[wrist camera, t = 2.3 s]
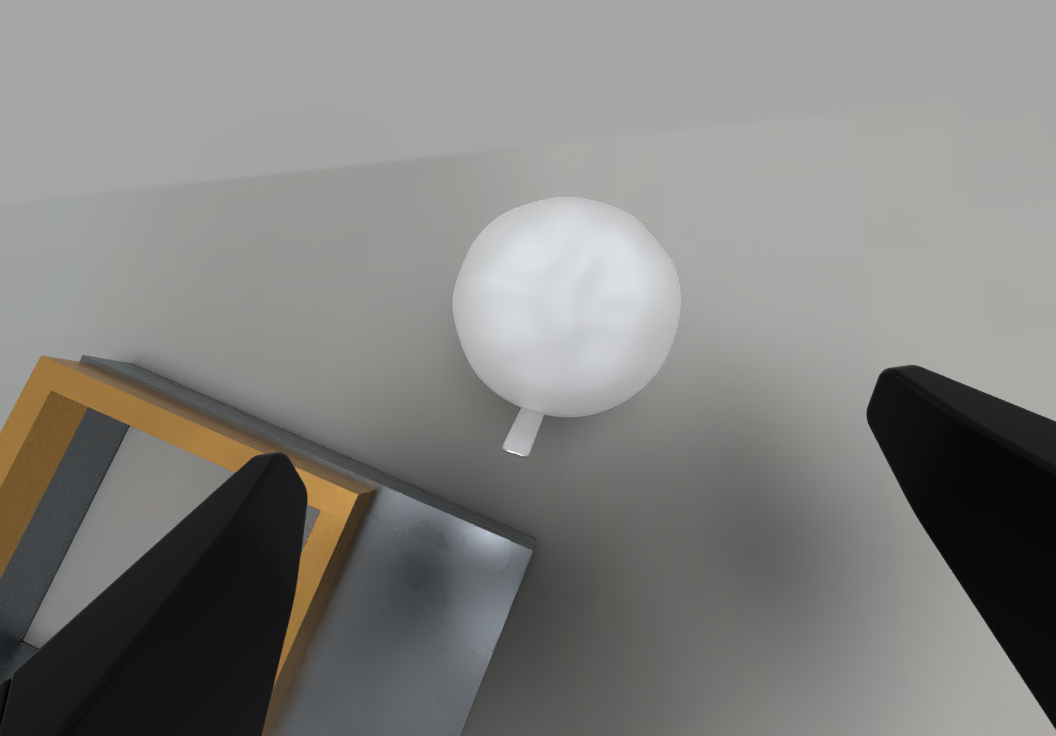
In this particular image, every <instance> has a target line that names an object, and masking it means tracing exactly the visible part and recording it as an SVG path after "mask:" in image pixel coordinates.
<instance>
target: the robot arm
mask: <svg viewBox="0 0 1056 736" xmlns="http://www.w3.org/2000/svg"><path fill="white" fill-rule="evenodd" d="M867 421H868V424H869V426H870V428H871V430H872V432H873V434H874V436H875V438H876V440H877V442H878V444H879V446H880V448H881V450H882V452H883V454H884V456H885V458H886V460H887V462H888V464H889V466H890V467H891V469H892V471H893V473H894V475H895V477H896V479H897V481H898V483H899V485H900V487H901V489H902V491H903V493H904V495H905V497H906V499H907V500H908V502H909V504H910V506H911V508H912V509H913V511H914V513H915V515H916V516H917V518H918V520H919V521H920V523H921V524H922V526H923V528H924V529H925V531H926V532H927V534H928V535H929V537H930V538H931V540H932V541H933V543H934V545H935V546H936V548H937V549H938V551H939V552H940V554H941V555H942V557H943V558H944V560H945V561H946V563H947V564H948V566H949V567H950V569H951V571H952V572H953V574H954V575H955V577H956V578H957V580H958V581H959V583H960V584H961V586H962V587H963V589H964V590H965V592H966V593H967V595H968V596H969V598H970V600H971V601H972V603H973V604H974V606H975V607H976V609H977V610H978V612H979V613H980V615H981V616H982V618H983V619H984V621H985V622H986V624H987V625H988V627H989V629H990V630H991V632H992V633H993V635H994V636H995V638H996V639H997V641H998V642H999V644H1000V645H1001V647H1002V648H1003V650H1004V651H1005V653H1006V655H1007V656H1008V658H1009V659H1010V661H1011V662H1012V664H1013V665H1014V667H1015V668H1016V670H1017V671H1018V673H1019V674H1020V676H1021V677H1022V679H1023V680H1024V682H1025V684H1026V685H1027V687H1028V688H1029V690H1030V691H1031V693H1032V694H1033V696H1034V697H1035V699H1036V700H1037V702H1038V703H1039V705H1040V706H1041V708H1042V710H1043V711H1044V713H1045V714H1046V716H1047V717H1048V719H1049V720H1050V722H1051V723H1052V725H1053V726H1054V728H1055V729H1056V421H1053V420H1051V419H1048V418H1046V417H1044V416H1041V415H1039V414H1036V413H1034V412H1031V411H1029V410H1026V409H1024V408H1021V407H1019V406H1016V405H1014V404H1011V403H1009V402H1006V401H1004V400H1001V399H999V398H997V397H994V396H992V395H989V394H987V393H984V392H982V391H979V390H977V389H974V388H972V387H969V386H967V385H964V384H962V383H959V382H957V381H954V380H952V379H950V378H947V377H945V376H942V375H940V374H937V373H935V372H932V371H930V370H927V369H925V368H922V367H920V366H916V365H906V366H899V367H892V368H887V369H885V370H884V371H882V372H881V373H880V375H879V377H878V380H877V383H876V385H875V388H874V391H873V393H872V396H871V399H870V402H869V404H868V407H867ZM307 501H308V495H307V490H306V487H305V484H304V483H303V481H302V479H301V477H300V476H299V474H298V472H297V471H296V469H295V467H294V466H293V464H292V462H291V460H290V459H289V457H288V456H287V455H286V454H285V453H283V452H273V453H266V454H259V455H256V456H254V457H253V458H251V459H250V460H249V461H248V462H247V463H246V464H244V465H243V466H242V467H241V468H240V469H239V470H238V471H237V472H236V473H234V474H233V475H232V476H231V477H230V478H229V479H228V480H227V481H226V482H224V483H223V484H222V485H221V486H220V487H219V488H218V489H217V490H216V491H214V492H213V493H212V494H211V495H210V496H209V497H208V498H207V499H206V500H204V501H203V502H202V503H201V504H200V505H199V506H198V507H197V508H196V509H194V510H193V511H192V512H191V513H190V514H189V515H188V516H187V517H186V518H184V519H183V520H182V521H181V522H180V523H179V524H178V525H177V526H176V527H174V528H173V529H172V530H171V531H170V532H169V533H168V534H167V535H166V536H164V537H163V538H162V539H161V540H160V541H159V542H158V543H157V544H156V545H154V546H153V547H152V548H151V549H150V550H149V551H148V552H147V553H146V554H144V555H143V556H142V557H141V558H140V559H139V560H138V561H137V562H136V563H134V564H133V565H132V566H131V567H130V568H129V569H128V570H127V571H126V572H124V573H123V574H122V575H121V576H120V577H119V578H118V579H117V580H116V581H114V582H113V583H112V584H111V585H110V586H109V587H108V588H107V589H106V590H104V591H103V592H102V593H101V594H100V595H99V596H98V597H97V598H96V599H94V600H93V601H92V602H91V603H90V604H89V605H88V606H87V607H86V608H84V609H83V610H82V611H81V612H80V613H79V614H78V615H77V616H75V617H74V618H73V619H72V620H71V621H70V622H69V623H68V624H67V625H65V626H64V627H63V628H62V629H61V630H60V631H59V632H58V633H57V634H55V635H54V636H53V637H52V638H51V639H50V640H49V641H48V642H47V643H45V644H44V645H43V646H42V647H41V648H40V649H39V650H38V651H37V652H35V653H34V654H33V655H32V656H31V657H30V658H29V659H28V660H27V661H25V662H24V663H23V664H22V665H21V666H20V667H19V668H18V669H17V670H15V672H14V673H13V675H12V678H8V679H6V680H4V681H3V682H2V683H1V684H0V736H262V732H263V728H264V724H265V720H266V716H267V711H268V707H269V703H270V699H271V695H272V691H273V686H274V682H275V678H276V674H277V670H278V666H279V662H280V657H281V653H282V649H283V645H284V641H285V637H286V633H287V628H288V624H289V620H290V616H291V612H292V607H293V603H294V598H295V593H296V587H297V580H298V573H299V565H300V557H301V549H302V541H303V533H304V525H305V518H306V510H307Z"/></svg>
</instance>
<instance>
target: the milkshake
mask: <svg viewBox="0 0 1056 736" xmlns="http://www.w3.org/2000/svg"><path fill="white" fill-rule="evenodd" d="M680 312H681V292H680V285H679V280H678V276H677V272H676V269H675V267H674V265H673V263H672V261H671V259H670V257H669V256H668V254H667V253H666V252H665V250H664V249H663V248H662V247H661V245H660V244H659V243H658V242H657V241H656V240H655V238H654V237H653V236H652V235H651V234H650V233H649V232H648V230H647V229H646V228H645V227H644V226H643V225H642V224H641V223H640V222H639V221H638V220H637V219H636V218H634V217H633V216H632V215H630V214H629V213H627V212H625V211H623V210H621V209H618V208H616V207H613V206H610V205H607V204H604V203H601V202H597V201H594V200H589V199H584V198H577V197H555V198H549V199H544V200H539V201H536V202H532V203H529V204H525V205H522V206H519V207H517V208H514V209H512V210H510V211H507V212H506V213H504V214H502V215H500V216H499V217H497V218H496V219H495V220H493V221H492V222H491V223H490V224H489V225H487V226H486V227H485V228H484V230H483V231H482V232H481V233H480V234H479V235H478V237H477V238H476V239H475V241H474V242H473V244H472V246H471V247H470V249H469V251H468V253H467V255H466V257H465V260H464V262H463V264H462V267H461V270H460V272H459V275H458V278H457V281H456V284H455V288H454V293H453V316H454V322H455V326H456V330H457V333H458V336H459V340H460V342H461V345H462V348H463V351H464V353H465V355H466V357H467V360H468V361H469V363H470V365H471V367H472V368H473V370H474V371H475V373H476V374H477V376H478V377H479V378H480V379H481V380H482V381H483V382H484V383H485V384H486V385H487V386H488V387H489V388H490V389H491V390H492V391H494V392H495V393H496V394H498V395H499V396H500V397H502V398H504V399H505V400H507V401H509V402H510V403H512V404H514V405H516V406H519V407H521V409H520V411H519V413H518V415H517V417H516V419H515V421H514V423H513V425H512V427H511V429H510V431H509V433H508V435H507V437H506V439H505V441H504V443H503V445H502V450H503V451H504V452H507V453H510V454H513V455H516V456H520V457H523V458H527V457H529V455H530V453H531V450H532V447H533V445H534V442H535V439H536V436H537V434H538V431H539V428H540V425H541V423H542V420H543V417H544V415H548V416H555V417H583V416H589V415H593V414H597V413H601V412H604V411H606V410H609V409H611V408H613V407H616V406H618V405H619V404H621V403H623V402H625V401H626V400H628V399H629V398H631V397H632V396H634V395H635V394H636V393H638V392H639V391H640V390H641V389H643V388H644V387H645V386H646V385H647V384H648V383H649V382H650V381H651V380H652V379H653V378H654V376H655V375H656V374H657V373H658V371H659V370H660V369H661V367H662V365H663V364H664V362H665V360H666V358H667V356H668V354H669V351H670V349H671V347H672V344H673V341H674V338H675V335H676V332H677V329H678V325H679V320H680Z"/></svg>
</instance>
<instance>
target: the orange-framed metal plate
mask: <svg viewBox="0 0 1056 736" xmlns="http://www.w3.org/2000/svg"><path fill="white" fill-rule="evenodd" d="M129 425H130V426H132V427H135V428H137V429H139V430H141V431H144V432H146V433H148V434H150V435H153V436H155V437H157V438H159V439H162V440H164V441H166V442H168V443H171V444H173V445H175V446H177V447H180V448H182V449H184V450H186V451H189V452H191V453H193V454H195V455H198V456H200V457H202V458H204V459H206V460H209V461H211V462H213V463H215V464H218V465H220V466H222V467H224V468H227V469H229V470H231V471H233V472H237V471H238V470H239V469H240V468H241V467H242V466H243V465H244V464H246V463H247V462H248V461H249V460H250V459H251V458H253V457H254V456H256V455H259V454H266V453H273V452H283V453H285V454H286V455H287V456H288V457H289V459H290V460H291V462H292V464H293V466H294V467H295V469H296V471H297V472H298V474H299V476H300V477H301V479H302V481H303V483H304V484H305V487H306V490H307V495H308V501H307V504H308V505H310V506H312V507H314V508H317V509H319V510H321V511H320V513H319V516H318V518H317V520H316V522H315V525H314V527H313V529H312V531H311V534H310V536H309V538H308V540H307V543H306V545H305V547H304V549H303V551H302V554H301V557H300V565H299V573H298V580H297V587H296V593H295V598H294V603H293V607H292V612H291V616H290V620H289V624H288V628H287V633H286V637H285V641H284V645H283V649H282V653H281V657H280V662H279V666H278V670H277V674H276V678H275V682H274V686H273V691H272V695H271V699H270V703H269V707H268V711H267V716H266V720H265V724H264V728H263V732H262V736H460V735H461V732H462V730H463V727H464V725H465V722H466V720H467V717H468V715H469V712H470V710H471V707H472V704H473V702H474V699H475V697H476V694H477V692H478V689H479V687H480V684H481V682H482V679H483V677H484V674H485V672H486V669H487V667H488V664H489V662H490V659H491V656H492V654H493V651H494V649H495V646H496V644H497V641H498V639H499V636H500V634H501V631H502V629H503V626H504V624H505V621H506V619H507V616H508V614H509V611H510V608H511V606H512V603H513V601H514V598H515V596H516V593H517V591H518V588H519V586H520V583H521V581H522V578H523V576H524V573H525V571H526V568H527V565H528V563H529V560H530V558H531V555H532V553H533V549H534V542H535V538H533V537H531V536H528V535H526V534H524V533H521V532H519V531H517V530H514V529H512V528H510V527H508V526H505V525H503V524H501V523H498V522H496V521H494V520H491V519H489V518H487V517H484V516H482V515H480V514H478V513H475V512H473V511H471V510H468V509H466V508H464V507H461V506H459V505H457V504H454V503H452V502H450V501H447V500H445V499H443V498H441V497H438V496H436V495H434V494H431V493H429V492H427V491H424V490H422V489H420V488H417V487H415V486H413V485H410V484H408V483H406V482H404V481H401V480H399V479H397V478H394V477H392V476H390V475H387V474H385V473H383V472H380V471H378V470H376V469H374V468H371V467H369V466H367V465H364V464H362V463H360V462H357V461H355V460H353V459H350V458H348V457H346V456H343V455H341V454H339V453H337V452H334V451H332V450H330V449H327V448H325V447H323V446H320V445H318V444H316V443H313V442H311V441H309V440H306V439H304V438H302V437H300V436H297V435H295V434H293V433H290V432H288V431H286V430H283V429H281V428H279V427H276V426H274V425H272V424H270V423H267V422H265V421H263V420H260V419H258V418H256V417H253V416H251V415H249V414H246V413H244V412H242V411H239V410H237V409H235V408H233V407H230V406H228V405H226V404H223V403H221V402H219V401H216V400H214V399H212V398H209V397H207V396H205V395H202V394H200V393H198V392H196V391H193V390H191V389H189V388H186V387H184V386H182V385H179V384H177V383H175V382H172V381H170V380H168V379H166V378H163V377H161V376H159V375H156V374H154V373H152V372H149V371H147V370H145V369H142V368H140V367H138V366H135V365H133V364H130V363H125V362H119V361H114V360H108V359H103V358H97V357H92V356H86V355H83V356H82V358H81V360H80V362H77V361H71V360H65V359H59V358H53V357H47V356H41V357H40V359H39V361H38V362H37V364H36V366H35V368H34V370H33V372H32V374H31V376H30V378H29V380H28V381H27V383H26V385H25V387H24V389H23V391H22V393H21V395H20V397H19V399H18V400H17V402H16V404H15V406H14V408H13V410H12V412H11V414H10V416H9V418H8V419H7V421H6V423H5V425H4V427H3V429H2V431H1V433H0V684H1V683H2V682H3V681H4V680H6V679H8V678H12V675H13V673H14V672H15V670H17V669H18V668H19V667H20V666H21V665H22V664H23V663H24V662H25V661H27V660H28V659H29V658H30V657H31V656H32V655H33V654H34V653H35V652H37V651H38V649H36V648H34V647H32V646H30V645H28V644H26V643H24V642H22V639H23V637H24V635H25V633H26V631H27V629H28V627H29V625H30V623H31V621H32V619H33V617H34V615H35V613H36V611H37V609H38V607H39V605H40V603H41V601H42V599H43V597H44V595H45V593H46V591H47V589H48V587H49V585H50V583H51V581H52V579H53V577H54V575H55V573H56V571H57V569H58V567H59V565H60V563H61V561H62V559H63V557H64V555H65V553H66V551H67V549H68V547H69V545H70V543H71V541H72V539H73V537H74V535H75V533H76V531H77V529H78V527H79V525H80V523H81V521H82V519H83V517H84V515H85V513H86V511H87V509H88V507H89V505H90V503H91V501H92V499H93V497H94V495H95V493H96V491H97V489H98V487H99V485H100V483H101V481H102V479H103V477H104V475H105V473H106V471H107V469H108V467H109V465H110V463H111V461H112V458H113V456H114V454H115V452H116V450H117V448H118V446H119V444H120V442H121V440H122V438H123V436H124V434H125V432H126V430H127V428H128V426H129Z"/></svg>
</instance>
